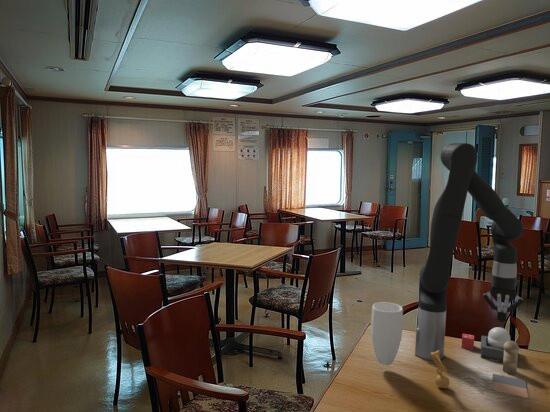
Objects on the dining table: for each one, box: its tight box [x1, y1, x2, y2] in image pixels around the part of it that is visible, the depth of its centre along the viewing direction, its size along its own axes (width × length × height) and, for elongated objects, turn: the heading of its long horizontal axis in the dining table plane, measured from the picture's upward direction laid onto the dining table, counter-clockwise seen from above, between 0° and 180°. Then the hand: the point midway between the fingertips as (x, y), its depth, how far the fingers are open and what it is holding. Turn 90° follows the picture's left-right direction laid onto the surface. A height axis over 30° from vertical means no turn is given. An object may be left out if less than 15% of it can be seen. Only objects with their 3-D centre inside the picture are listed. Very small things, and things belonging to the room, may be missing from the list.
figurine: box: [430, 350, 450, 389], centre depth 126 cm, size 8×6×12 cm
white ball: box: [487, 326, 511, 349], centre depth 149 cm, size 7×7×7 cm
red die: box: [460, 333, 475, 351], centre depth 155 cm, size 4×4×4 cm
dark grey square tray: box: [480, 335, 516, 363], centre depth 149 cm, size 11×11×4 cm
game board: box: [492, 373, 529, 400], centre depth 128 cm, size 9×11×1 cm
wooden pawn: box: [502, 340, 520, 376], centre depth 137 cm, size 4×4×10 cm
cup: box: [370, 301, 404, 366], centre depth 135 cm, size 10×10×22 cm
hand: (501, 321), depth 148 cm, fingers closed
